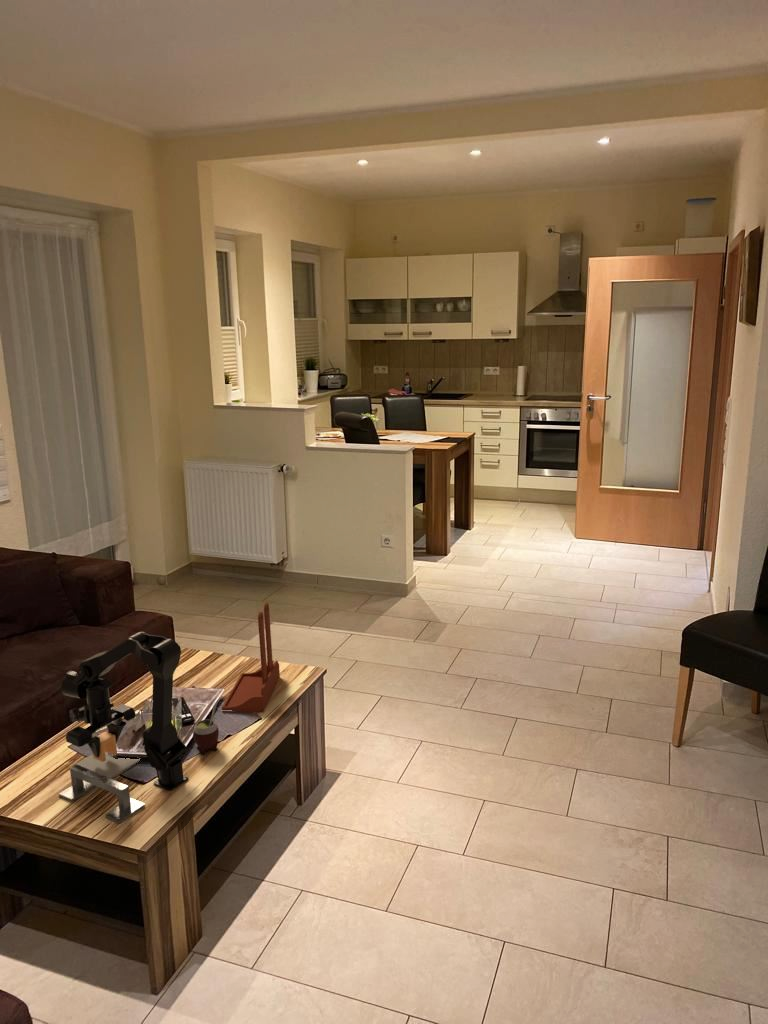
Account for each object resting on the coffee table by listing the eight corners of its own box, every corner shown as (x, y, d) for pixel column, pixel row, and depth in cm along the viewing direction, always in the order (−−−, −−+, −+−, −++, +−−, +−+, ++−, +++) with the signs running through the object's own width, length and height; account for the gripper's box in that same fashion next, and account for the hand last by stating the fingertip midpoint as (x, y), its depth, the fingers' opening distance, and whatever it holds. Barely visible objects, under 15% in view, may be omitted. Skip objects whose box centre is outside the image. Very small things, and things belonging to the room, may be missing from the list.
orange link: (117, 753, 213) (115, 735, 211) (102, 762, 209) (100, 743, 208) (107, 749, 215) (105, 731, 214) (93, 758, 211) (90, 739, 210)
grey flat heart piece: (140, 723, 234) (137, 699, 232) (145, 724, 234) (142, 700, 232) (125, 735, 228) (122, 710, 226) (130, 736, 227) (127, 711, 225)
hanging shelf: (242, 677, 264) (235, 594, 256) (279, 678, 262) (274, 594, 255) (222, 712, 240) (214, 621, 233) (263, 712, 239) (257, 622, 232)
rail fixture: (145, 806, 193) (142, 781, 192) (119, 824, 187) (116, 798, 185) (85, 780, 205) (82, 757, 204) (59, 796, 199) (55, 772, 197)
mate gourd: (190, 754, 216) (185, 705, 213) (203, 740, 224) (199, 692, 220) (214, 757, 214) (209, 708, 211) (227, 743, 222) (223, 695, 218)
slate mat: (141, 760, 214) (140, 759, 214) (105, 782, 204) (105, 780, 204) (107, 747, 221) (107, 745, 221) (71, 768, 211) (71, 766, 211)
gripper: (107, 680, 220) (113, 730, 223) (49, 708, 204) (56, 761, 208) (133, 689, 214) (139, 740, 218) (76, 718, 199) (83, 772, 202)
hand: (105, 752), depth 212 cm, fingers closed on orange link, 5 cm apart
